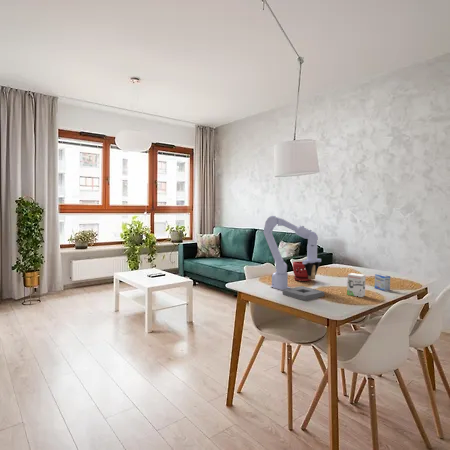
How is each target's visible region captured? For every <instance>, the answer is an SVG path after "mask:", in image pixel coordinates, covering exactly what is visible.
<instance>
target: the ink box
mask: <svg viewBox="0 0 450 450" xmlns="http://www.w3.org/2000/svg"><path fill="white" fill-rule="evenodd" d="M346 284H347V285H346V287H347V289H346V294H347V295H348V296H352V297H357V296H358V297H359V298H363V297H365V296H366V274H363V273H355V272H351V273H348V274H347V283H346Z"/></svg>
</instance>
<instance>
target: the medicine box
mask: <svg viewBox="0 0 450 450" xmlns="http://www.w3.org/2000/svg"><path fill="white" fill-rule="evenodd" d="M374 289H376V290H380V291H383V292H387V291H391V276H390V275H386V274H382V273H375V274H374Z"/></svg>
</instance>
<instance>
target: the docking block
mask: <svg viewBox="0 0 450 450" xmlns="http://www.w3.org/2000/svg"><path fill="white" fill-rule="evenodd" d="M282 295H284V296H287V297H290V298H294V299H297V300H301V301H305V302H306V301H310V300H314V299H317V298H322V297H325V291H323V290H319V289H315V288H311V287H307V286H303V285H300V286H295V287H292V288H289V289H284V290H282Z"/></svg>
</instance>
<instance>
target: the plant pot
mask: <svg viewBox="0 0 450 450" xmlns="http://www.w3.org/2000/svg"><path fill="white" fill-rule="evenodd" d="M310 264H311V263H310ZM292 271H293V274H294V276H293V279H294V280H295V281H299V282H310V281H312V279H308V275H307V271H306V268H305V266H304V264H302V261H293V263H292Z"/></svg>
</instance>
